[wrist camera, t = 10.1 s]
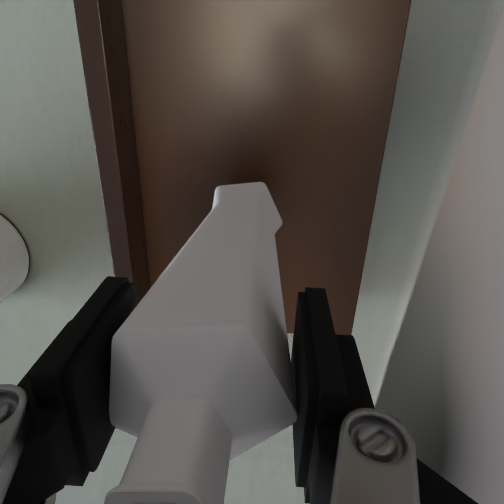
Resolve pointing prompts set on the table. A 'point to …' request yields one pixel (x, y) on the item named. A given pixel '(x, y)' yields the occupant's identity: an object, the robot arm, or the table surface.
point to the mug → (11, 259)
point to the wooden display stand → (243, 127)
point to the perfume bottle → (204, 357)
